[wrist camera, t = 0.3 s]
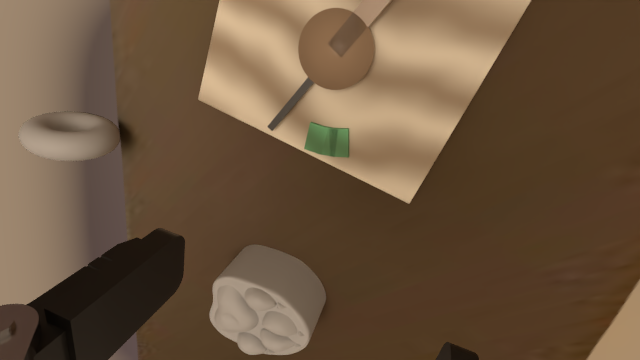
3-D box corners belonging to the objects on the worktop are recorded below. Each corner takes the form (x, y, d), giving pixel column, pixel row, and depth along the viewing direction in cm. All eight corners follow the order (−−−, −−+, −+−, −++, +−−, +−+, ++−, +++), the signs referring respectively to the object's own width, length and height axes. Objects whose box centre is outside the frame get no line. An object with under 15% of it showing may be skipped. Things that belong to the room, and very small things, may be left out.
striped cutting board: (258, -134, 31) (248, -144, 29) (539, -20, 28) (546, -24, 26) (205, 97, 41) (196, 100, 39) (410, 197, 38) (409, 205, 36)
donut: (77, 127, 48) (-3, 147, 39) (75, 102, 47) (-9, 117, 38) (138, 148, 46) (69, 175, 38) (138, 124, 45) (66, 145, 36)
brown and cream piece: (393, -86, 28) (373, -150, 18) (454, -22, 28) (466, -52, 19) (249, 103, 37) (187, 126, 28) (296, 149, 38) (250, 187, 28)
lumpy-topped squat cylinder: (243, 236, 47) (206, 275, 39) (334, 271, 45) (314, 320, 37) (234, 293, 51) (200, 339, 44) (317, 328, 49) (295, 382, 41)
